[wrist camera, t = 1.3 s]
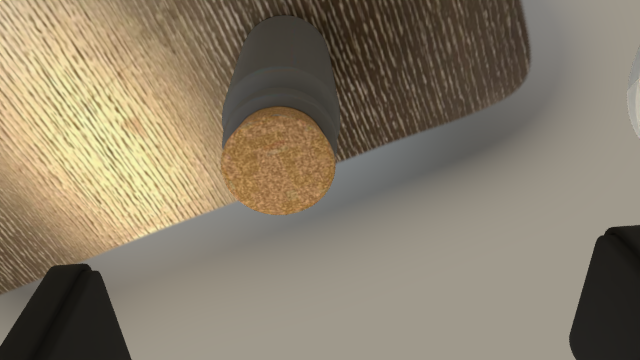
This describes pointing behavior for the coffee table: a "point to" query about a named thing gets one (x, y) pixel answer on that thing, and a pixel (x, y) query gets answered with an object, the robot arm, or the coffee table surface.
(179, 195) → the coffee table surface
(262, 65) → the bottle
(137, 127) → the coffee table surface
